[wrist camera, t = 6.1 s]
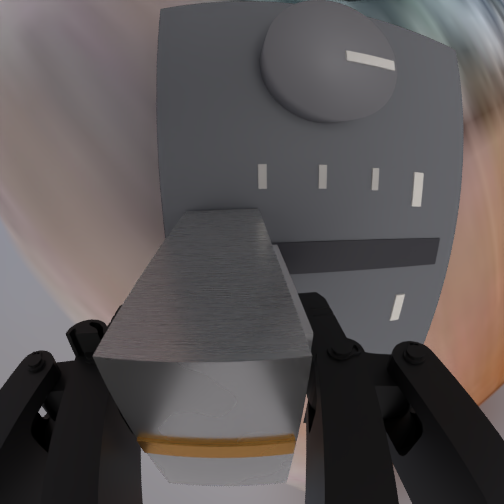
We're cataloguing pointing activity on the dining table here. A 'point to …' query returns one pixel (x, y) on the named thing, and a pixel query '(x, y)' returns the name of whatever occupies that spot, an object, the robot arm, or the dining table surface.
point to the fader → (211, 355)
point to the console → (319, 149)
